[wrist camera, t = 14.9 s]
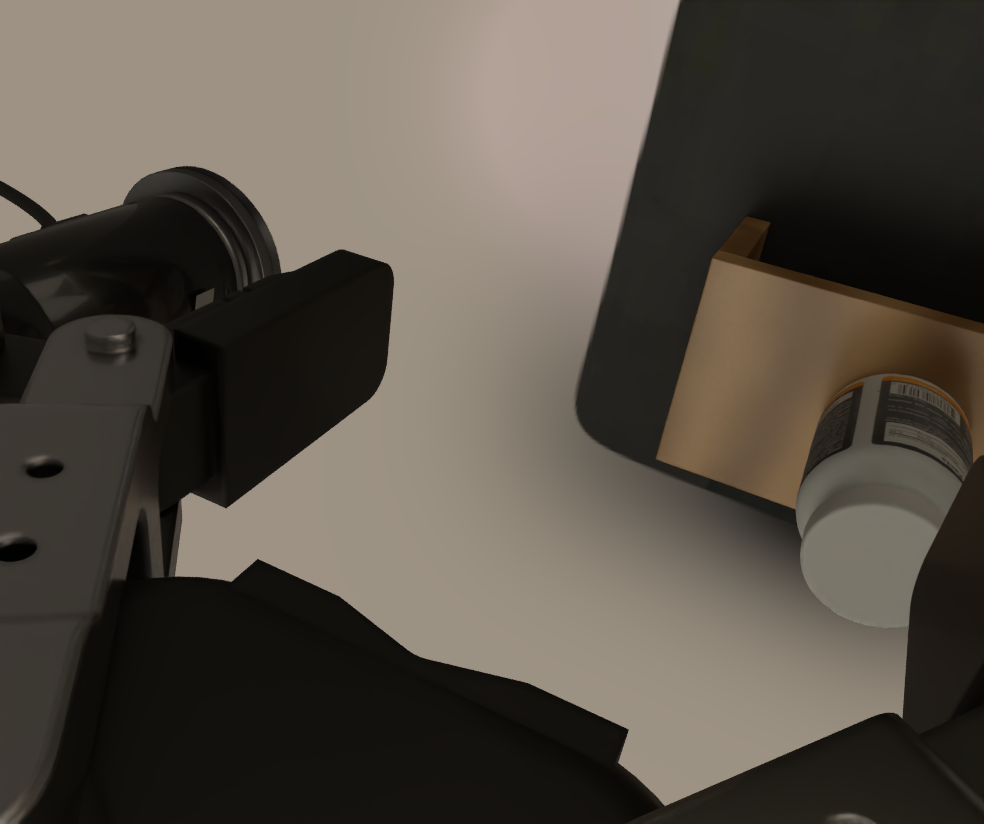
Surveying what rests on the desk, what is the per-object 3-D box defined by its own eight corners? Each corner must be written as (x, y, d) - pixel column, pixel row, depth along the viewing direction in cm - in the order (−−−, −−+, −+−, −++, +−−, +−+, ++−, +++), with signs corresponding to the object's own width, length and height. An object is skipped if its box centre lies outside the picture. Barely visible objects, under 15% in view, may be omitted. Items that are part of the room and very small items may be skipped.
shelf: (692, 397, 47) (655, 459, 41) (745, 215, 42) (712, 257, 36) (1062, 520, 41) (1080, 611, 36) (1175, 328, 36) (1218, 399, 31)
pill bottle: (852, 509, 38) (825, 657, 30) (795, 395, 37) (751, 517, 29) (996, 472, 35) (1009, 627, 27) (938, 346, 34) (933, 468, 26)
